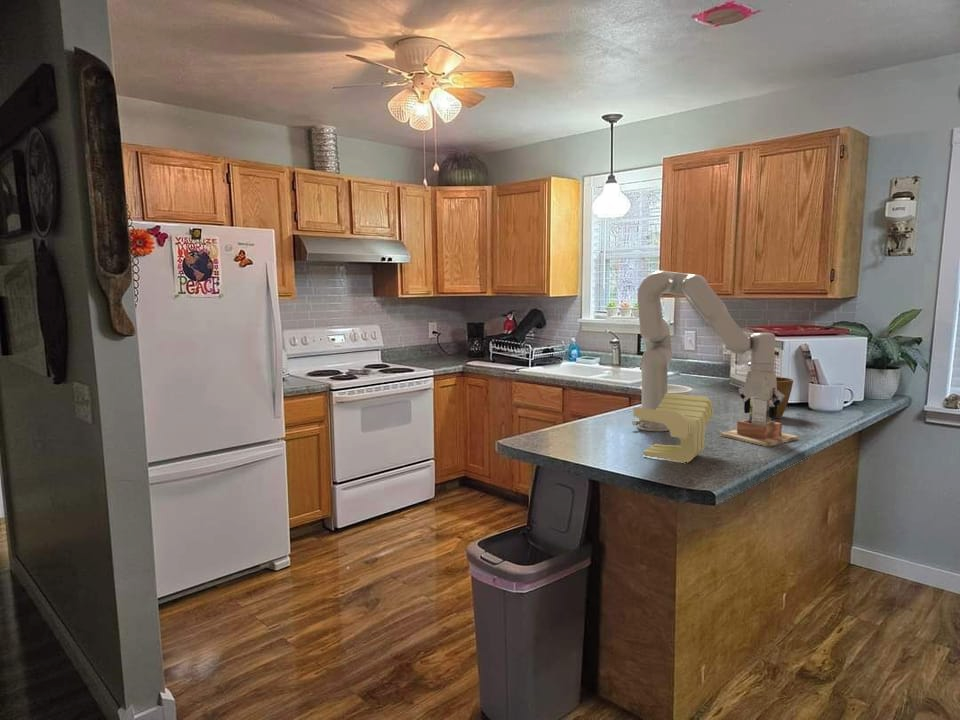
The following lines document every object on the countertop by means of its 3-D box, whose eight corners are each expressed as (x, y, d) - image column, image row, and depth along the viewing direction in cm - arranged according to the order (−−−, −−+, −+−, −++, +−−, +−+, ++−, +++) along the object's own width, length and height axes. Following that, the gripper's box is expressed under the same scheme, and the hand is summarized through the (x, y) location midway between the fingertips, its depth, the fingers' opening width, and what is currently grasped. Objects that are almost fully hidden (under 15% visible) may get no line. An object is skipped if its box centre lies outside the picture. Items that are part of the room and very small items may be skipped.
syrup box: (753, 432, 221) (755, 392, 219) (770, 434, 217) (772, 394, 215) (748, 434, 217) (749, 394, 215) (765, 437, 213) (767, 396, 211)
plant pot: (799, 417, 249) (801, 379, 247) (776, 422, 242) (778, 382, 240) (766, 411, 262) (768, 374, 260) (743, 415, 254) (745, 377, 253)
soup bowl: (628, 401, 288) (628, 387, 287) (657, 395, 303) (658, 382, 302) (673, 409, 269) (673, 394, 268) (702, 402, 285) (702, 388, 284)
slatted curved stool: (684, 472, 178) (686, 413, 176) (632, 464, 187) (633, 407, 185) (711, 449, 202) (713, 397, 200) (664, 443, 211) (665, 392, 209)
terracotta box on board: (766, 446, 205) (767, 430, 204) (721, 436, 220) (721, 420, 219) (797, 439, 214) (798, 423, 213) (752, 429, 229) (752, 414, 229)
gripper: (733, 365, 219) (732, 412, 222) (778, 371, 205) (776, 420, 207) (747, 364, 223) (745, 409, 225) (791, 369, 209) (789, 418, 211)
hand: (759, 415), depth 216 cm, fingers open, 9 cm apart
